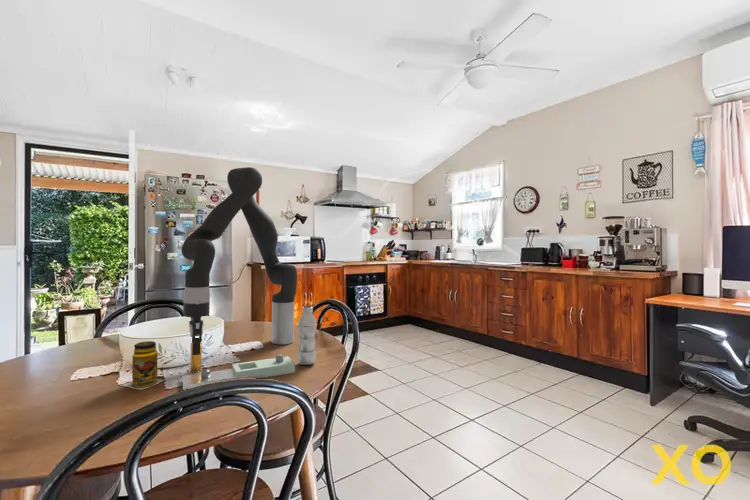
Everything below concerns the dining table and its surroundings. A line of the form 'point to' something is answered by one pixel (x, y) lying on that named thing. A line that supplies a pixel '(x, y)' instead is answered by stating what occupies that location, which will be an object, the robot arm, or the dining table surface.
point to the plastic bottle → (307, 337)
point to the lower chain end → (212, 377)
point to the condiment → (144, 366)
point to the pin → (196, 360)
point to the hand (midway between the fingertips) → (195, 351)
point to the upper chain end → (265, 367)
